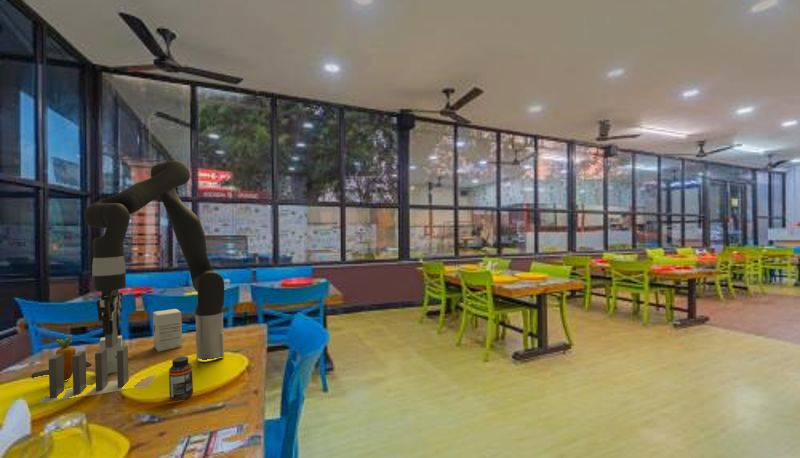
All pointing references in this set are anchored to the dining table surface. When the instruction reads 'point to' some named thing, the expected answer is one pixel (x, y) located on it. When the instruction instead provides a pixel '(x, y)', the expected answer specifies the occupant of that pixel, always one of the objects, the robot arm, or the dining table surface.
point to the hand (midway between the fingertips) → (111, 331)
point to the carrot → (66, 356)
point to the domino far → (56, 375)
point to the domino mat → (110, 387)
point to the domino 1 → (79, 372)
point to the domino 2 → (101, 369)
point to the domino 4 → (122, 366)
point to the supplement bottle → (180, 379)
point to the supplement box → (167, 329)
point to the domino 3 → (112, 338)
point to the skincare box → (111, 354)
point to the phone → (48, 371)
